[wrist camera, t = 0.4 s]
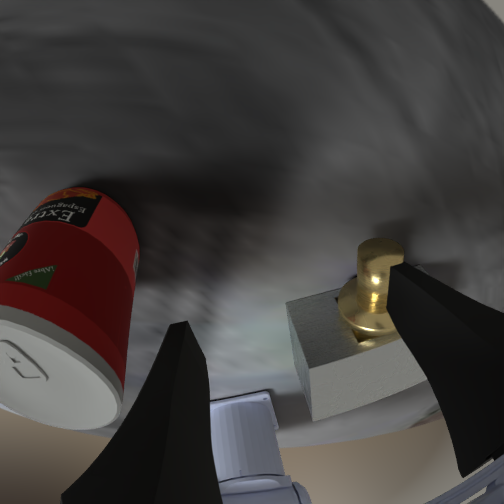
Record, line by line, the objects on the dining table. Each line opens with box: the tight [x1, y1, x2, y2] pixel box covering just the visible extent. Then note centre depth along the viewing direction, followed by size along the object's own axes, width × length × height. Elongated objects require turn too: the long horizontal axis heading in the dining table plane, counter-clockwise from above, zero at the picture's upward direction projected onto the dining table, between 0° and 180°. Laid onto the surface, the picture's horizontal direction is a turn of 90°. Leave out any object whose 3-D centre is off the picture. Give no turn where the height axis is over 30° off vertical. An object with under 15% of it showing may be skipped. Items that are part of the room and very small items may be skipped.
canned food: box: [0, 187, 140, 430], centre depth 13 cm, size 8×8×11 cm
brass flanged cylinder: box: [338, 238, 404, 343], centre depth 21 cm, size 10×6×6 cm, turn 10°
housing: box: [286, 265, 430, 422], centre depth 23 cm, size 8×12×6 cm, turn 100°
